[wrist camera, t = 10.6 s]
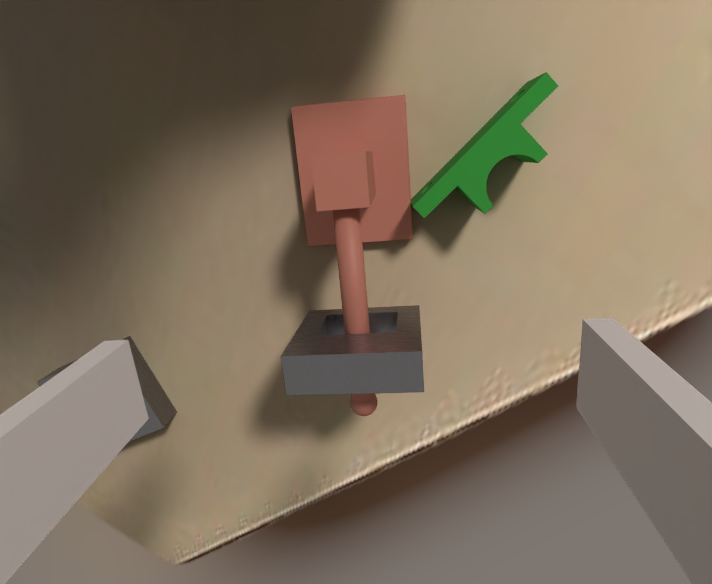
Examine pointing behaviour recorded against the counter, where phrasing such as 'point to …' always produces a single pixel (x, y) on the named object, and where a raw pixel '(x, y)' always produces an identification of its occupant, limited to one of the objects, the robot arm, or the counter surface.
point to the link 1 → (152, 393)
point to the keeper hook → (354, 191)
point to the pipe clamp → (489, 150)
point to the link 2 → (355, 354)
